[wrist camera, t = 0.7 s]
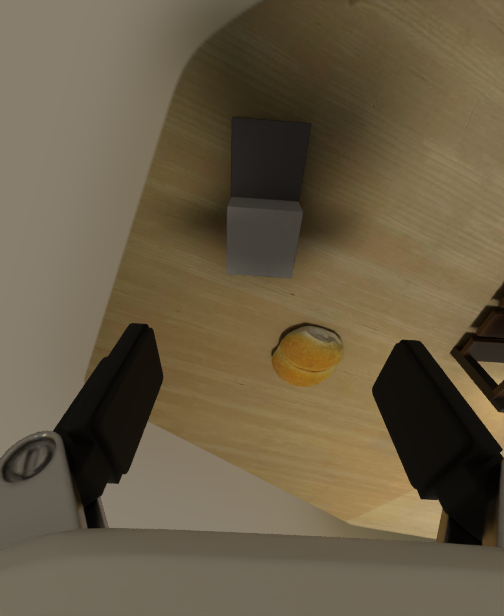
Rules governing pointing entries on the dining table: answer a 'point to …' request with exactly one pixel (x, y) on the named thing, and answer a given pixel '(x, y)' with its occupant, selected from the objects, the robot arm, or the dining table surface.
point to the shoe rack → (485, 357)
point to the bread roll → (307, 356)
